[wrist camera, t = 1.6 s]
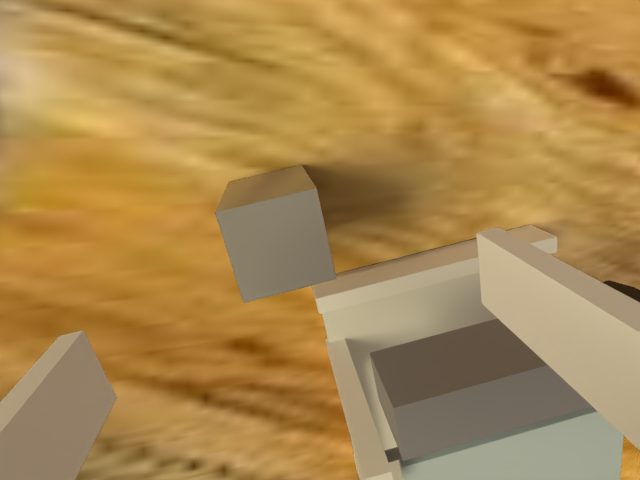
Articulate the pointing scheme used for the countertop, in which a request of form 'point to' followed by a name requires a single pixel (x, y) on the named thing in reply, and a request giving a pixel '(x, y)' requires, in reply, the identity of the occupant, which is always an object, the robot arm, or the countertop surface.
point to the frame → (398, 329)
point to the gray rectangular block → (275, 233)
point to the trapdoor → (489, 411)
